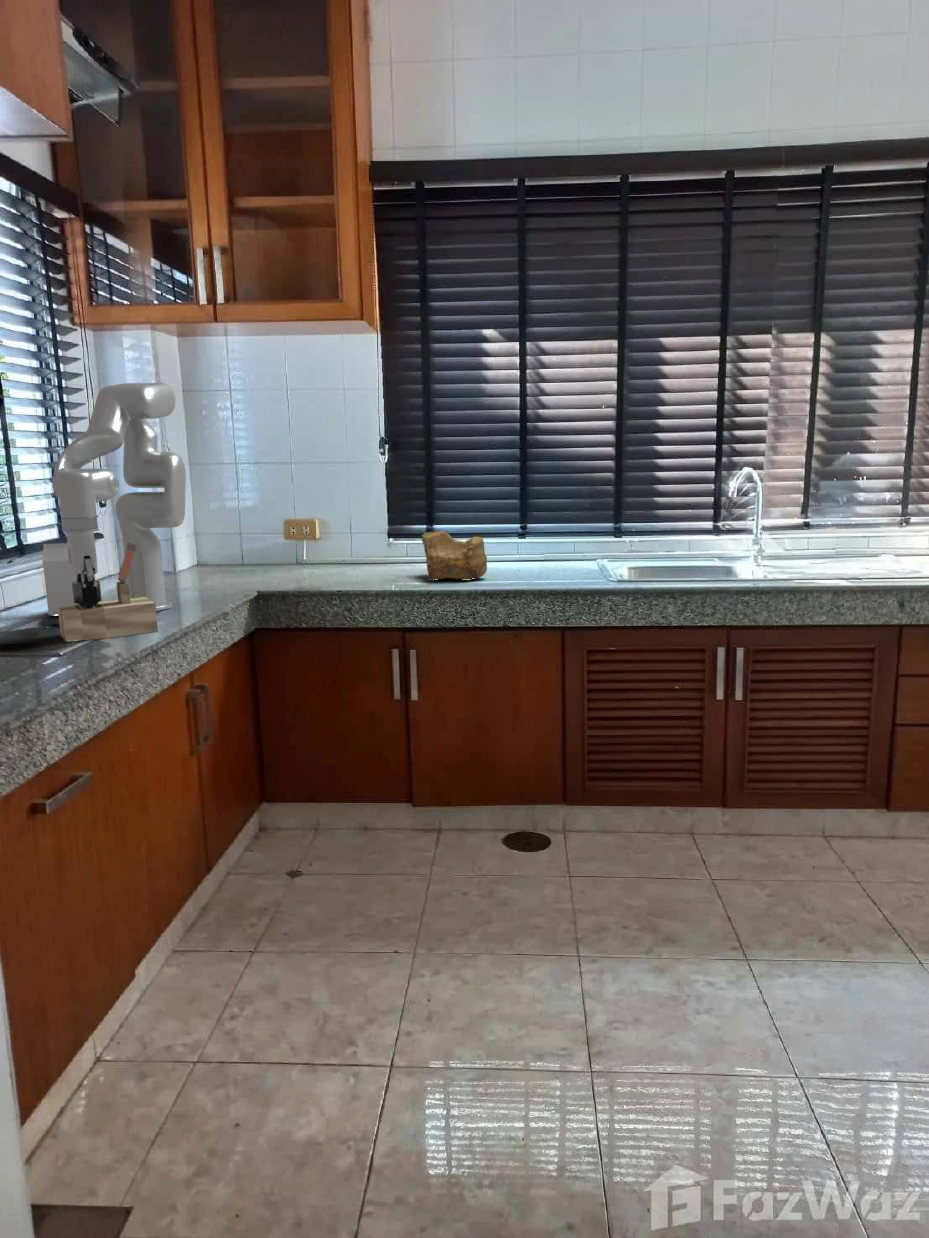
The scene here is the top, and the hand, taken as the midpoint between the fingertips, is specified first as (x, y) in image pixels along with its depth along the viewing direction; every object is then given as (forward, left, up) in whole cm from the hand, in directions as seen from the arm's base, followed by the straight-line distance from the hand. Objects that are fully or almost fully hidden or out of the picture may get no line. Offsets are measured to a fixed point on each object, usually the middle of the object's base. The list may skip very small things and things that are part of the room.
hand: (88, 601), depth 197 cm
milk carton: (-32, -1, -9) cm, 33 cm away
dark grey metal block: (0, 0, -7) cm, 7 cm away
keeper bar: (0, +9, +8) cm, 12 cm away
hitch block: (0, +4, -8) cm, 9 cm away
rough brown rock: (-19, +111, -9) cm, 113 cm away
